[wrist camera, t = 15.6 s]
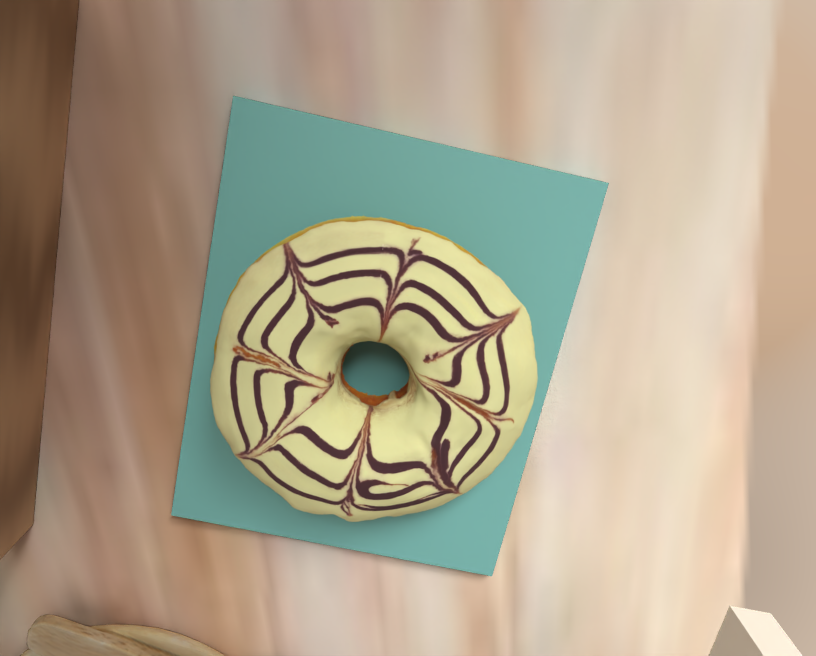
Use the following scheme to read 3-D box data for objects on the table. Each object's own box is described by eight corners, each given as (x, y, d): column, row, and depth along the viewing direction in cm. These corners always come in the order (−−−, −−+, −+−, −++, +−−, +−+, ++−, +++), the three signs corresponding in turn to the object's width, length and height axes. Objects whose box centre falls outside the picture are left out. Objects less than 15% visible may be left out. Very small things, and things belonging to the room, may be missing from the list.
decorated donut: (475, 511, 27) (486, 570, 24) (205, 447, 26) (174, 499, 23) (559, 259, 24) (587, 281, 21) (261, 178, 24) (236, 187, 20)
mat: (237, 96, 23) (233, 95, 23) (604, 181, 24) (608, 183, 24) (175, 507, 28) (171, 515, 27) (490, 567, 29) (491, 576, 28)
